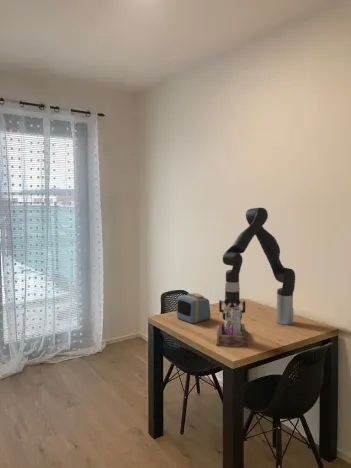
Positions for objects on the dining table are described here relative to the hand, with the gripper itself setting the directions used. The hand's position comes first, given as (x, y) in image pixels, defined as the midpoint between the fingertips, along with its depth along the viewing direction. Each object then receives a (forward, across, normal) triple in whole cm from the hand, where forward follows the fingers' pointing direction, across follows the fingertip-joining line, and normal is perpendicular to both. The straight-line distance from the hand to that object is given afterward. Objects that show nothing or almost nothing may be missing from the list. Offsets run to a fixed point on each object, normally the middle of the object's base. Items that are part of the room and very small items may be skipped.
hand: (232, 319), depth 209 cm
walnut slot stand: (+10, 0, 0) cm, 10 cm away
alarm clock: (+10, +23, -32) cm, 41 cm away
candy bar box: (+9, 0, 0) cm, 9 cm away
